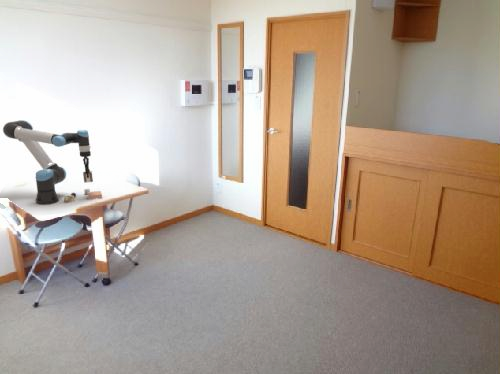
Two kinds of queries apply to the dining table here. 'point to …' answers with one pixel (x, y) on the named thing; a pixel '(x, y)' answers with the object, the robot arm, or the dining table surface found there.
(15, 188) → the dining table surface
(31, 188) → the dining table surface
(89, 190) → the grey plastic cylinder
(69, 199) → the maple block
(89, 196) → the terracotta stand
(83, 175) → the walnut block
